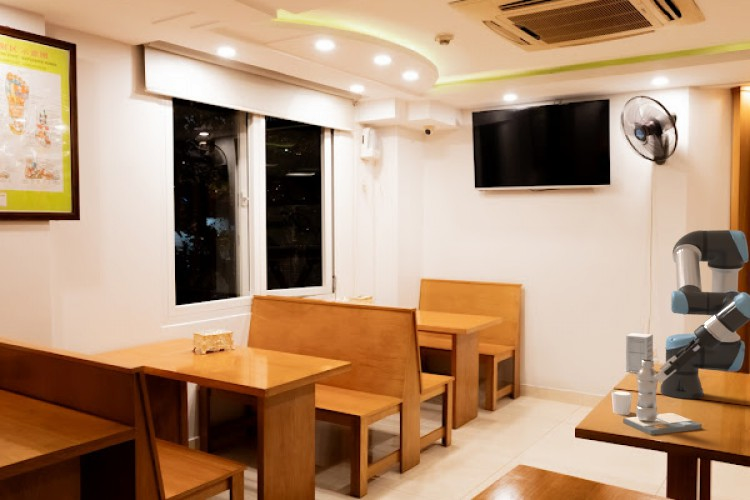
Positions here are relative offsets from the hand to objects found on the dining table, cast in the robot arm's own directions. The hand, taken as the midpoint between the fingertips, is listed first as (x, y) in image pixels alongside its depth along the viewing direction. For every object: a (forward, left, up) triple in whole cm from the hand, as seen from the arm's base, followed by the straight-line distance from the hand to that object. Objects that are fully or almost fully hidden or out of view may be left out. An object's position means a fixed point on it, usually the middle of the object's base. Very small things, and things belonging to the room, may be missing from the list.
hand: (659, 375), depth 205 cm
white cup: (0, -19, -18) cm, 26 cm away
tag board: (-3, -2, -17) cm, 18 cm away
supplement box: (-49, -68, -18) cm, 86 cm away
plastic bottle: (+2, -3, -16) cm, 16 cm away
